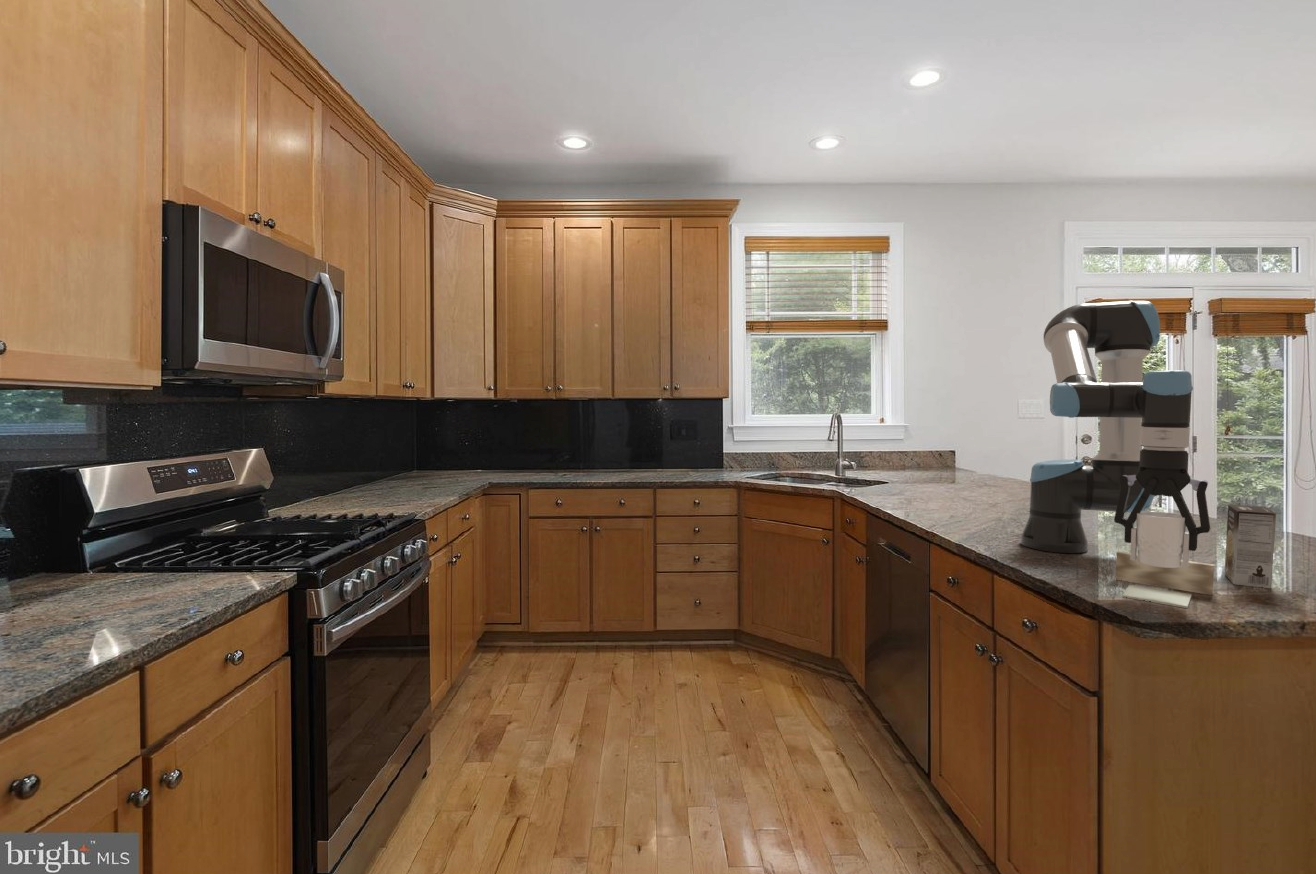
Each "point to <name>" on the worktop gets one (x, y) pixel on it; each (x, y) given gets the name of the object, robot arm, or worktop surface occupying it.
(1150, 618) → the worktop surface
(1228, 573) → the coffee box
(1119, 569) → the birch screen
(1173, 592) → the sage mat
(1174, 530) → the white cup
